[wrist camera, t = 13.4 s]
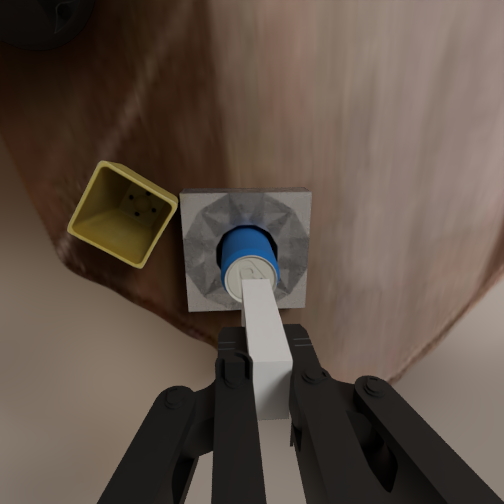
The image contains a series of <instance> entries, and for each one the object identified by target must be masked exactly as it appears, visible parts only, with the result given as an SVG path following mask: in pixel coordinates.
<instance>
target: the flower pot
mask: <svg viewBox="0 0 504 504" xmlns="http://www.w3.org/2000/svg"><path fill="white" fill-rule="evenodd" d="M147 191H149V192H150V193H151V194H150V195H149V196H148V195H147V194H146V192H147ZM130 195H133V197H134V198H133V199H130V198H129V196H130ZM177 206H178V199H177V197H176V196H174V195H173V194H171V193H169V192H167V191H166V190H164V189H162V188H160V187H159V186H157V185H155V184H154V183H152V182H150V181H149V180H147V179H145V178H144V177H142V176H140V175H139V174H137V173H135V172H134V171H132V170H131V169H129V168H127V167H126V166H124V165H121V164H118V163H113V162H108V161H100V162H99V163H98V165H97V167H96V169H95V171H94V173H93V175H92V177H91V179H90V182H89V184H88V186H87V188H86V190H85V192H84V194H83V196H82V198H81V200H80V202H79V204H78V206H77V208H76V210H75V212H74V214H73V216H72V218H71V220H70V222H69V225H68V228H67V231H68V232H69V233H70V234H72V235H74V236H75V237H77V238H79V239H81V240H83V241H85V242H87V243H89V244H91V245H93V246H95V247H97V248H99V249H101V250H103V251H105V252H107V253H109V254H111V255H113V256H114V257H116V258H118V259H120V260H122V261H124V262H126V263H128V264H129V265H131V266H133V267H136V268H140V269H141V268H142V267H143V266H144V264H145V263H146V261H147V259H148V257H149V255H150V253H151V251H152V250H153V248H154V246H155V244H156V242H157V241H158V239H159V237H160V236H161V234H162V232H163V231H164V229H165V227H166V226H167V224H168V222H169V221H170V219H171V217H172V216H173V214H174V213H175V211H176V209H177ZM152 208H155V209H156V212H152ZM136 212H138V213H139V216H136V215H135V213H136Z"/></svg>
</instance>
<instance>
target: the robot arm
mask: <svg viewBox="0 0 504 504" xmlns="http://www.w3.org/2000/svg"><path fill="white" fill-rule="evenodd" d="M94 2H95V0H0V40H1V41H3V42H5V43H8V44H10V45H12V46H15V47H18V48H22V49H27V50H49V49H53V48H57V47H59V46H62V45H64V44H66V43H67V42H69V41H70V40H72V39H73V38H74V37H75V36H76V35H77V34H78V33H79V32H80V31H81V30H82V29H83V27H84V26H85V24H86V23H87V21H88V19H89V17H90V15H91V12H92V9H93V6H94ZM215 373H216V379H215V380H214V382H213V383H212V384H211V385H209V386H208V387H206V388H205V389H202V390H199V391H196V392H193V391H192V390H191V389H190V388H188V387H185V386H173V387H170V388H167V389H166V390H164V391H162V392H161V393H160V394H159V396H158V397H157V398H156V400H155V401H154V403H153V406H152V407H151V409H150V410H149V412H148V414H147V416H146V417H145V419H144V421H143V423H142V425H141V426H140V428H139V430H138V432H137V433H136V435H135V437H134V439H133V440H132V442H131V444H130V446H129V448H128V449H127V451H126V453H125V455H124V457H123V458H122V460H121V462H120V464H119V465H118V467H117V469H116V471H115V472H114V474H113V476H112V478H111V479H110V481H109V483H108V485H107V486H106V488H105V490H104V492H103V494H102V495H101V497H100V499H99V501H98V502H97V504H184V502H185V499H186V496H187V493H188V490H189V487H190V484H191V481H192V478H193V475H194V472H195V469H196V466H197V462H198V459H199V456H201V455H203V454H206V453H209V452H211V451H213V471H212V498H211V504H266V495H265V486H264V476H263V469H262V458H261V450H260V441H259V432H258V422H257V420H273V419H289V410H290V414H291V418H292V423H291V436H290V437H291V438H290V446H293V442H294V447H295V451H296V456H297V461H298V465H299V470H300V475H301V480H302V484H303V489H304V493H305V498H306V503H307V504H504V502H503V501H502V500H501V499H500V498H499V497H498V496H497V495H496V494H495V493H494V491H493V490H492V489H490V487H489V486H488V485H487V484H486V483H485V482H484V481H483V480H482V479H481V478H480V477H479V476H478V475H477V474H476V473H475V472H474V471H473V470H472V469H471V468H470V467H469V466H468V465H467V464H466V463H465V462H464V461H463V460H462V459H461V457H460V456H459V455H458V454H457V453H456V452H454V450H453V449H452V448H451V447H450V446H449V445H448V444H447V443H445V441H444V440H443V439H442V438H441V437H440V436H439V435H438V434H437V433H436V432H435V431H434V430H433V429H432V428H431V427H430V426H429V425H428V424H427V423H426V421H424V420H423V418H422V417H421V416H420V415H419V414H418V413H417V412H416V411H415V410H414V409H413V408H412V407H411V406H410V405H409V404H408V403H407V402H406V401H405V400H404V399H403V398H402V397H401V396H400V395H399V394H398V393H397V392H396V391H395V390H394V389H393V388H392V386H391V385H389V384H388V383H387V382H386V381H384V380H382V379H380V378H378V377H375V376H362V377H359V378H357V380H356V381H355V384H350V383H345V382H341V381H337V380H335V379H333V378H331V376H330V374H329V373H328V372H327V371H326V370H325V369H323V368H322V367H321V365H320V363H319V360H318V358H317V355H316V353H315V350H314V348H313V345H312V343H311V340H310V339H309V335H308V333H307V331H306V329H304V328H303V327H302V326H301V325H300V324H282V322H281V318H280V315H279V311H278V308H277V304H276V301H275V298H274V294H273V291H272V287H271V284H270V280H269V279H244V280H242V327H223V329H222V330H221V331H220V333H219V336H218V358H217V360H216V362H215Z"/></svg>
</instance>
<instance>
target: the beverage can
mask: <svg viewBox="0 0 504 504" xmlns="http://www.w3.org/2000/svg"><path fill="white" fill-rule="evenodd" d="M279 276H280V272H279V267H278V264H277V261H276V259H275V256H274V254H273V251H272V248H271V246H270V243H269V241H268V238H267V236H266V235H265V233H264V232H263V231H262V230H261V229H259V228H258V227H256V226H253V225H239V226H236V227H234V228H233V229H231V230H230V231H229V232H228V233H227V235H226V236H225V238H224V241H223V247H222V263H221V282H222V285H223V287H224V289H225V290H226V292H227V293H228V294H229V295H230V296H231V297H232V298H233V299H235V300H236V301H238V302H240V303H242V280H244V279H269V280H270V284H271V287H272V291H273V292H274V290H275V288H276V286H277V284H278V281H279Z"/></svg>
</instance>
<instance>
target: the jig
mask: <svg viewBox="0 0 504 504" xmlns="http://www.w3.org/2000/svg"><path fill="white" fill-rule="evenodd" d="M311 197H312V192H311V191H309V190H308V189H306V188H305V187H292V188H207V189H183V190H182V192H181V193H180V206H181V219H182V232H183V244H184V257H185V270H186V283H187V296H188V308H189V312H193V311H221V310H242V303H240V302H238V301H236V300H235V299H233V298H232V297H231V296H230V295H229V294H228V293H227V292H226V290H225V289H224V287H223V285H222V282H221V263H222V259H221V258H220V256H219V255H218V253H217V244H218V243H219V241H220V239H221V237H222V236H223V234H224V233H226V232H227V231H229V230H231V229H232V228H234V227H236V226H238V225H257V226H258V227H260V228H262V229H264V230H266V231H268V232H270V234H271V235H272V237H273V239H274V252H273V254H274V256H275V259H276V261H277V264H278V267H279V272H280V276H279V281H278V284H277V286H276V288H275V290H274V292H273V294H274V298H275V301H276V304H277V308H304V307H305V295H306V279H307V262H308V246H309V230H310V213H311Z"/></svg>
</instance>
